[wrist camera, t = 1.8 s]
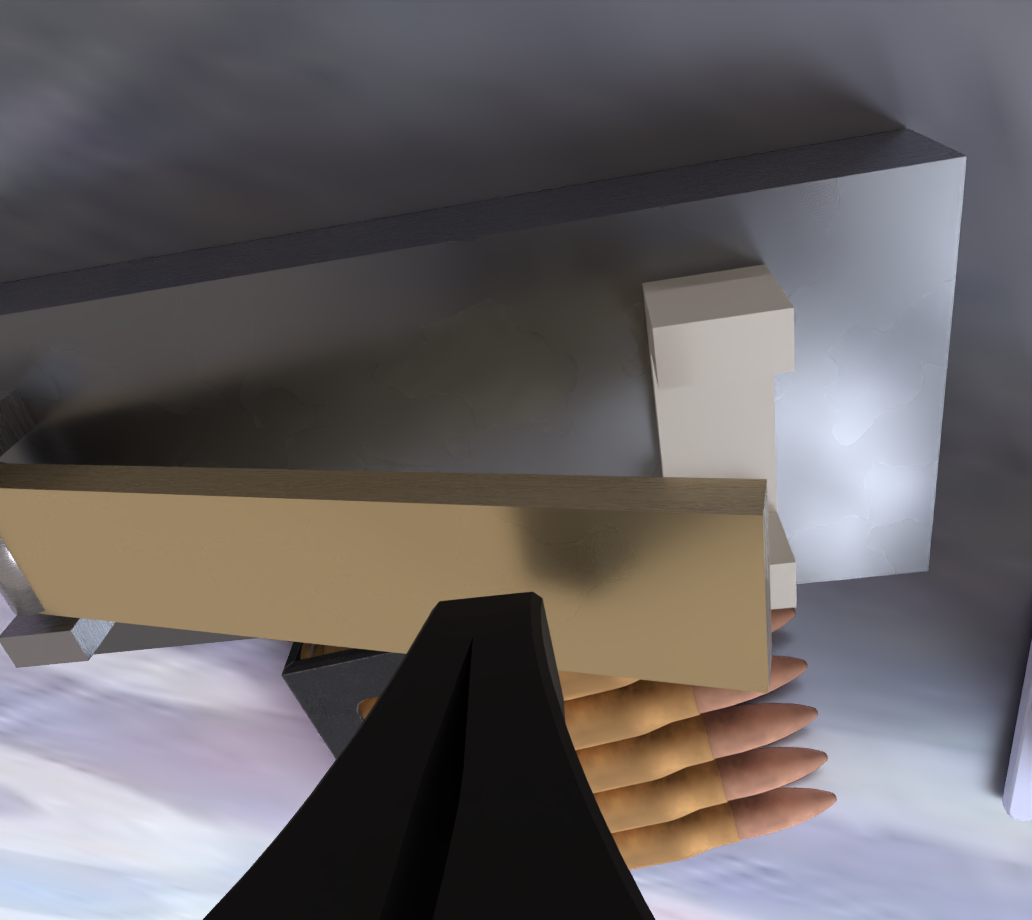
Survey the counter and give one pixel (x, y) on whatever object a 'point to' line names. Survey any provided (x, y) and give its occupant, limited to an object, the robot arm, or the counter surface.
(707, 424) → the lug
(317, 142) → the counter surface
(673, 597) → the tan long flat bar
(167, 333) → the block
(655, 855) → the ammunition clip
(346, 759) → the robot arm
